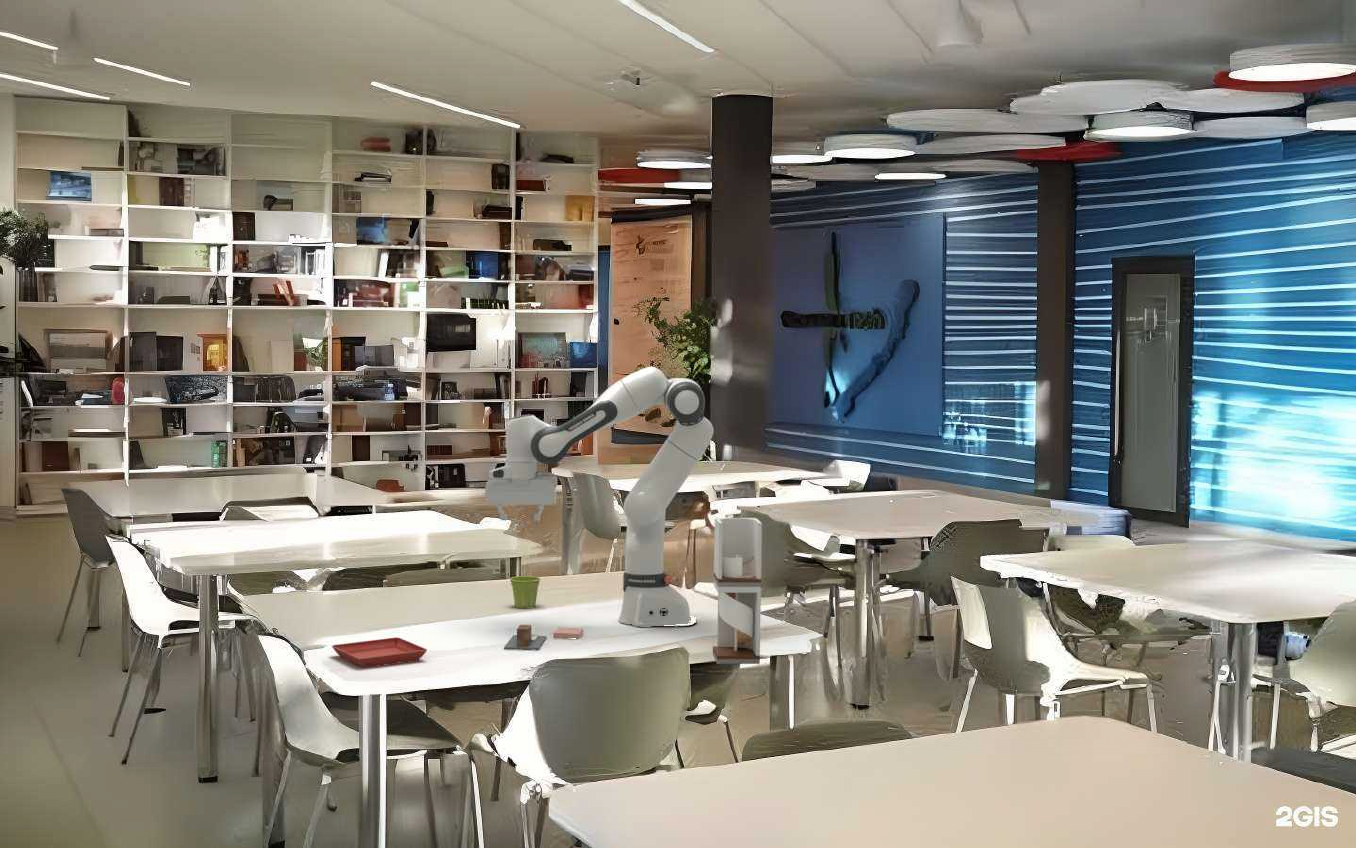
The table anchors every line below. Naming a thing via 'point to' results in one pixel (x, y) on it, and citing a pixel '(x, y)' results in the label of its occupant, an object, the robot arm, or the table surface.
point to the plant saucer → (379, 652)
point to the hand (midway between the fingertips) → (520, 520)
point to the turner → (525, 635)
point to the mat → (533, 645)
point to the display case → (738, 589)
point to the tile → (568, 633)
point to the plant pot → (525, 590)
